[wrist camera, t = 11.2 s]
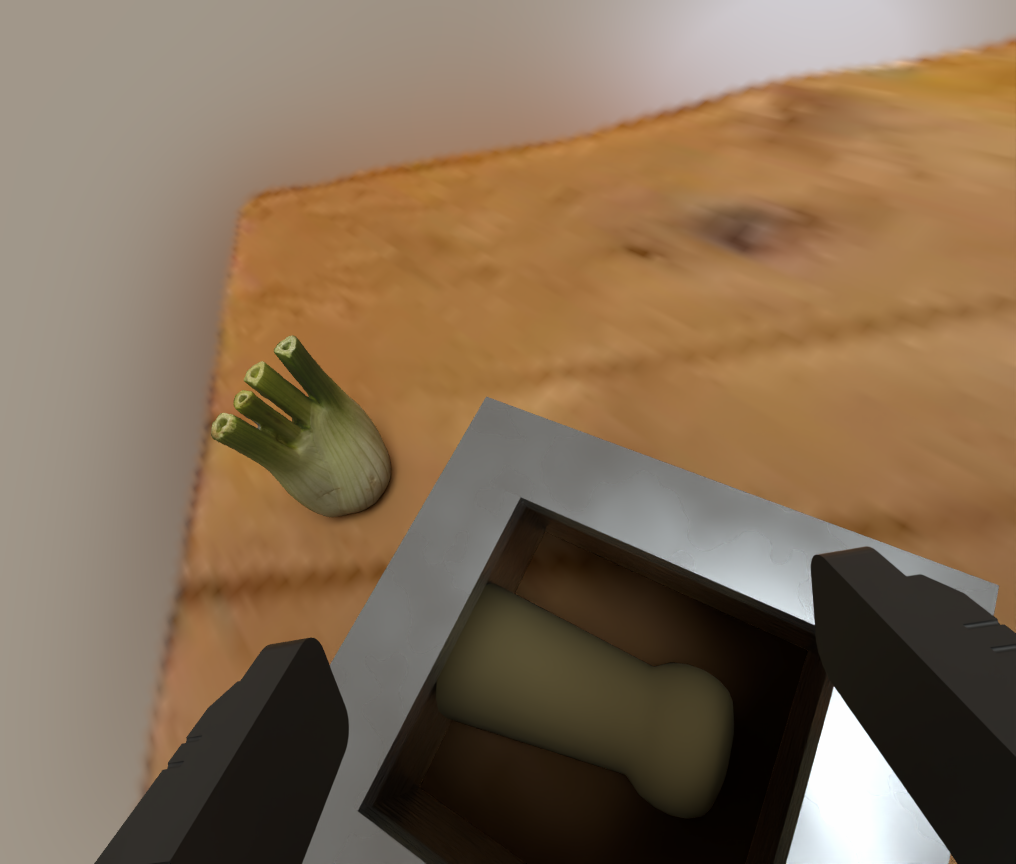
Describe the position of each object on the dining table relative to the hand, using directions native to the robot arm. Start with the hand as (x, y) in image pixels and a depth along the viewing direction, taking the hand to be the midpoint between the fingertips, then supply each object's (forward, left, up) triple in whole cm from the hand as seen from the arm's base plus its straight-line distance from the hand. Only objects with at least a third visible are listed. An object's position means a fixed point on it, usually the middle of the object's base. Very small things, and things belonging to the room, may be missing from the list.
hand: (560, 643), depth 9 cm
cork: (+1, -6, -16) cm, 18 cm away
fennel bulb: (-4, -18, -21) cm, 28 cm away
